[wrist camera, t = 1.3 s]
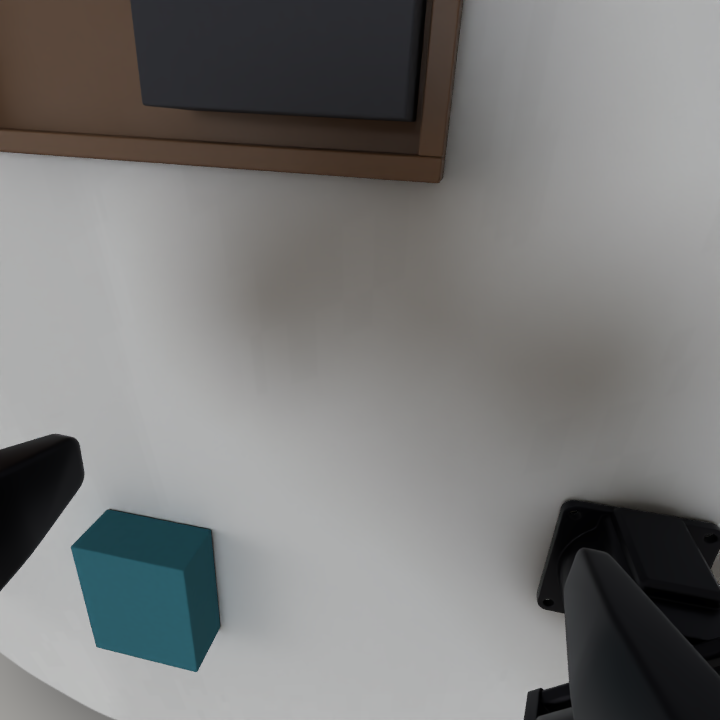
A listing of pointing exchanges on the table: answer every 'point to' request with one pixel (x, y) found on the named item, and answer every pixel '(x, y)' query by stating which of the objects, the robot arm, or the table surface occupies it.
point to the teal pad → (149, 588)
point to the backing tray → (189, 127)
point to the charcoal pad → (282, 56)
